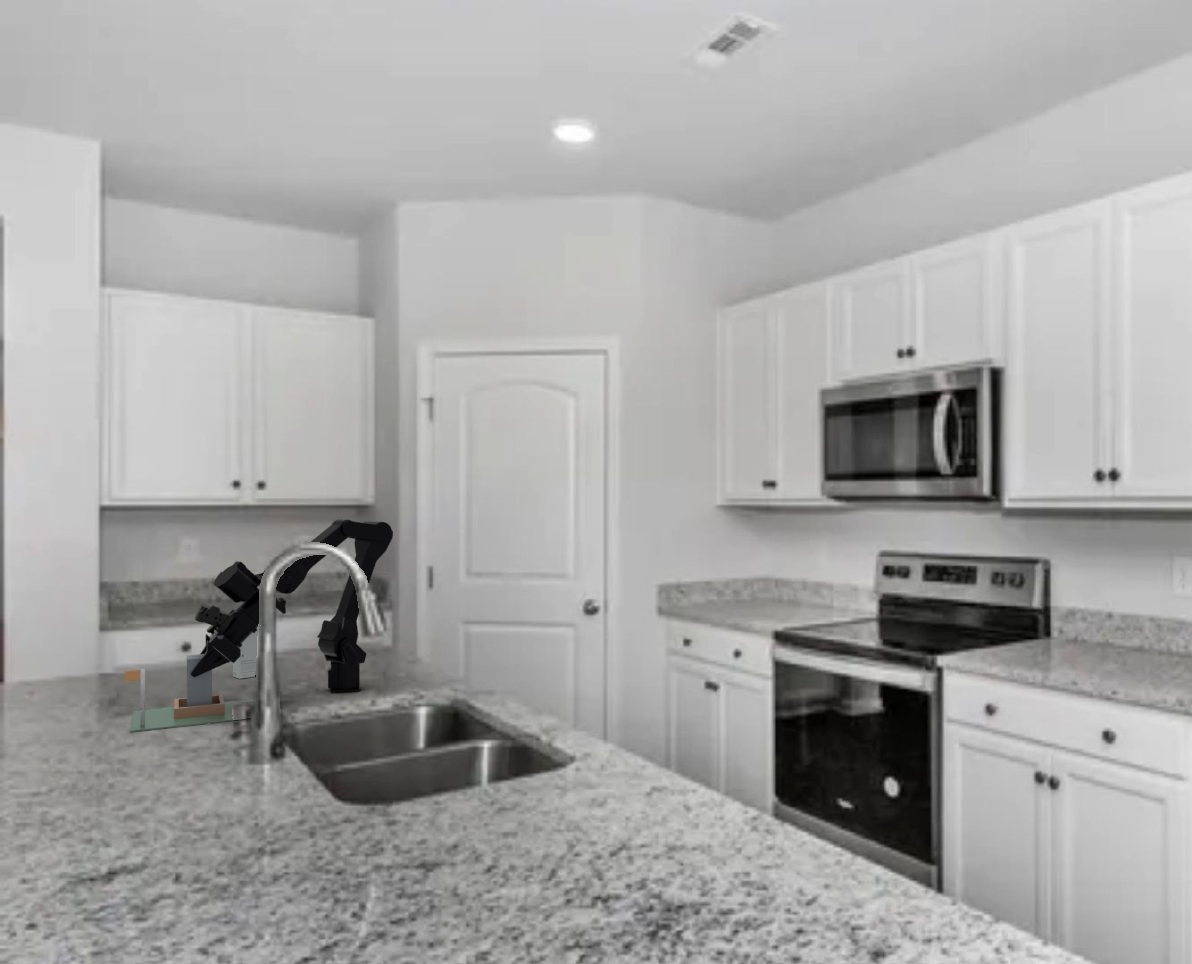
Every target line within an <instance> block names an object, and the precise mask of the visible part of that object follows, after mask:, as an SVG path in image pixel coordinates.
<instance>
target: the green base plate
mask: <svg viewBox="0 0 1192 964" xmlns="http://www.w3.org/2000/svg"><path fill="white" fill-rule="evenodd" d="M138 681H139V682H140V684H139V685H140V687H139V688H140V693H139V694H140V697H139V698H140V701H139V702H140V705H139V707H140V710H134V711H133V714H132V719H131V720H132V721H131V725H130V733H135V732H137V733H138V732H146V731H154V730H155V731H156V730H163V729H164V728H166V729H173V728H172V727H175V728H179V727H178V726H184V727H191V726H201V724H202V725H207V724H208V723H211V724H218V723H217V722H220V723H225V722H224V721H229V722H233V721H232V720H233V718H232V717H233V715H232V709H233V706H234V704H235V703H239V702H251V701H253V699H254V698H251V699H242V700H241V699H240V700H231V701H225V699H224V696H223V694H222V693H220V694H212V704H210V705H201V706H191V707H187V697H180V698H179V697H178V698H174V700H173V706H171V707H170V706H169V707H163V708H151V709H146V669H145V668H140V669H135V670H125V671H124V683H125V682H126V683H127V682H128V683H129V682H138ZM208 725H209V724H208ZM164 730H165V729H164Z"/></svg>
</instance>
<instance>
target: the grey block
mask: <svg viewBox="0 0 1192 964" xmlns="http://www.w3.org/2000/svg"><path fill="white" fill-rule="evenodd" d="M203 656H204V654H200V653H199V654H189V655H187V654H186V698H187V707H191V706H201V705H210V704H212V695H213V669H212V670H210V671H208V672H206V673H203V674H201V675H199V676H197V677H193V676H191V672H192V671H193V669H194V668H195V667H196V665H197V664H198V662H199V661H200V660H201V658H202V657H203Z"/></svg>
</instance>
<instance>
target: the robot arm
mask: <svg viewBox="0 0 1192 964" xmlns="http://www.w3.org/2000/svg"><path fill="white" fill-rule="evenodd" d="M393 537H394V531H393V530H392V527H391V526H390V524H389V523H387V522H384V521H375V520H374V521H373V520H366V521H364V522H358V521H354V520H351V519H347V518H346V519H343V518H341V519H336V520H334V521H333V522H332V523H331V525H330V526H328V527H327V528H326V529H325V530H323V531H322V532H321V533H320V534H318V535H317V536H316V537H315V538H313V539H312V540H311V541H310V542H320V543H326V544H329V545H332V546H334V547H336V548H337V547H339V546H340V545H342V543H343V542H345V541H346V540H348V539H352V540H353V539H354V542H353V543H354V548H355V549H354V550H355V558H354V560H355V561H356V562H357V563H358V565H359V567H360V568H361V569H362V570H363V571H364V573H365V575H366V576H367V580H368V583H369V584H370V583H371V582H370V581H371V579H372V577H373V573H374V570H375V568H376V565H377V562H378V560H379V559H380V558H381V557H383V555H384V554H385V553H386V552H387V550H388V548H389V546H390V544H391V543H392V541H393ZM325 557H327V555H313V556H309V557H306V558H302V559H299V560H297V561H295V562H294V563H293V564H292V565H291V566H290V567H288V568H287V569H286V570H285V571H284V574H283V575H282V576H281V577H280V579H279V581H278V584H277V587H276V592H275V593H278V594H284V595H285V594H286V595H289V594H292V593H294V592H295V591H296V590H297V589H298V588H299V587H300V586H301V585H302V583H303V582H304V581H305V580H306V578H307V576H308V572H310V570H311V569H312V568H313V567H314V566H316V565H317V564H319V562H320V561H322V560H323V559H324V558H325ZM264 572H265V570H264V571H262V572H260V573H257V574H256V573H253V572H252V571H251V570H250V569H249V568H248V567H247V566H246V564H245V563H243V562H242V561H237V560H236V561H235V562H234V563H233V564H232V565H229V566H228V567H227V568H226V569H224V570H223V571H220V573H218V575H217V576H216V578H215V579H214V582H213V585H214V587H216V588H217V589H218V590H219V591H220V592H221V593H223V594H224V595H225V596H226V597H227V598H228V599H229V600H231V601H232V602H234V604H237V603H241V604H240V605H239V607H237V608H234V609H233V608H232V609H231V610H230V611H229V612H226V611H224V610H221V608H220V607H219V606H216V605H214V604H212V605H209V604H205V603H201V604H200V607H199V608H198V610H197V612H196V614H195V616H194V620H195V621H196V622H199V623H201V624H202V623H204V624H208V625H210V626H209V627H208V628H206V632H207V633H208V634H210V635H208V634H207V633H206V634H204V635H205V646H204V647H203V649H202V650H201V652H200V653H199V654H204V656H203V657H202V658H201V660H200V661H199V662H198V664H197V665H196V667H195V668H194V669H193V671H192V672H191V676H193V677H197V676H199V675H201V674H203V673H206V672H208V671H210V670H212V671H213V670H214V669H216V668H219V667H221V666H223V665H225V664H228V663H232V664H233V663H234V662H235V661H236V660H237V659H238V658H239V657H240V656H241V649H240V647H241V646H242V643H243V642H244V641H245V640H246V639H247V638H248V637H249V636H250V635H251V634H252V633H255V632H256V631H257V627H258V624H259V590H260V589H259V587H261V586H260V583H261V579H262V576H263V574H264ZM286 605H287V600H286V599H285V598H283V597H281V598H280V597H279V598H278V597H277V596H276V610H278V611H279V612H281V614H284V615H285V614H286V613H287V610H286ZM359 615H360V612H359V608H358V601H357V595H356V590H355V586H354V584H353V581H352V579H351V576H350V574H349V575H348V578H347V581H346V584H345V587H344V590H343V592H342V595H341V598H340V601H339V604H338V607H337V609H336V613H335V615H334V616H333V617H332V618H331V620H326V619H325V620H323V622H322V623H321V629H320V631H319V634H318V635H317V636H316V637H317V638H318V641H317V642H318V643H317V645H318V648H319V650H320V652H321V653H322V654H323V656H324V659H325V661H326V662H330V667H328V668H327V688H328V690H329V689H330V691H329V693H332V694H333V693H344V692H359V691H361V685H360V684H361V683H360V674H361V672H360V667H361V664H364V663H365V662H366V657H367V652H365V650H363V648H362V647H360V645H358V639H359V627H358V617H359Z"/></svg>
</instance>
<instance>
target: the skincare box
mask: <svg viewBox="0 0 1192 964" xmlns="http://www.w3.org/2000/svg"><path fill="white" fill-rule="evenodd" d="M257 636H258V627H257V631H256V632H255V633H252V634H251V635H250V636H249V637H248V638H247V639H246V640H245V641H244V642H243V643H242V646H241V647H240V649H241V656H240V657H239V658H238V659H237V660H236V661H235V662H234V663H233V662H232V676H233V677H234V678H236V679H238V680H240V679H247V678H254V677H255V671H256V656H257ZM255 678H256V677H255Z"/></svg>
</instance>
